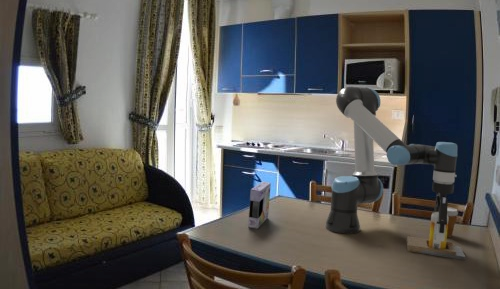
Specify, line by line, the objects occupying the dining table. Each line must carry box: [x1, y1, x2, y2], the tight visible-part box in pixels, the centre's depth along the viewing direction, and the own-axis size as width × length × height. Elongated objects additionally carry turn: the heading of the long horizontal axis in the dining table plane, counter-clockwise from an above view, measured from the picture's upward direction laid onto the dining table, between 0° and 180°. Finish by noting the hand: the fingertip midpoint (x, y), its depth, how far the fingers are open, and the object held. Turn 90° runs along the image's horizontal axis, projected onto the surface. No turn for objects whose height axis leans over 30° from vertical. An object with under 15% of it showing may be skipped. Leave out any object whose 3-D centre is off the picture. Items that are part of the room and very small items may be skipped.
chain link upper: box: [406, 235, 456, 255], centre depth 154 cm, size 17×12×2 cm
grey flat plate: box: [421, 243, 466, 261], centre depth 153 cm, size 15×12×1 cm
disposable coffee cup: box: [447, 206, 459, 238], centre depth 174 cm, size 10×10×12 cm
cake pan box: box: [247, 181, 272, 230], centre depth 179 cm, size 19×5×18 cm, turn 162°
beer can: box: [428, 211, 449, 249], centre depth 153 cm, size 6×6×15 cm
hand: (438, 235), depth 153 cm, fingers open, 13 cm apart
